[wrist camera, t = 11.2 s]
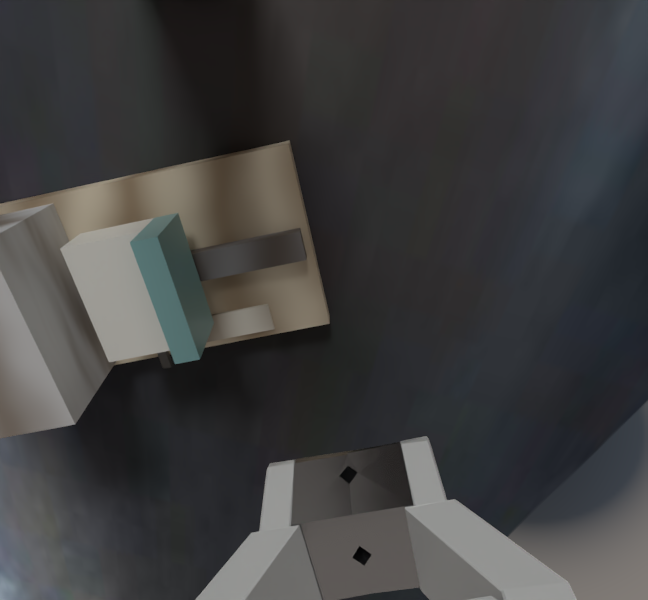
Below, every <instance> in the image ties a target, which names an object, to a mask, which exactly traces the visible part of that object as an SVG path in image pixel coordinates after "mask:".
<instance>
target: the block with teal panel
mask: <svg viewBox="0 0 648 600" xmlns="http://www.w3.org/2000/svg"><path fill="white" fill-rule="evenodd" d="M60 250H61V252H62V254H63V257H64V259H65V261H66V264H67V266H68V268H69V271H70V273H71V275H72V278H73V280H74V282H75V285H76V287H77V289H78V292H79V294H80V296H81V299H82V301H83V303H84V306H85V308H86V310H87V313H88V315H89V317H90V320H91V322H92V324H93V327H94V329H95V331H96V333H97V336H98V338H99V340H100V343H101V345H102V347H103V350H104V352H105V354H106V357H107V359H108V361H109V362H114V361H119V360H124V359H129V358H135V357H140V356H145V355H150V354H155V353H157V354H158V357H159V359H160V362H161V365H162V367H163V369H165V368H170V367H172V365H173V362H172V360H171V357H170V354H169V352H168V351H170V352H171V355H172V357H173V360H174V363H175V364H179V363H184V362H189V361H195V360H200V358H201V356H202V353H203V351H204V348H205V345H206V343H207V340H208V337H209V335H210V332H211V330H212V327H213V324H214V321H213V318H212V315H211V312H210V309H209V306H208V303H207V300H206V297H205V293H204V290H203V287H202V284H201V281H200V278H199V275H198V272H197V269H196V266H195V263H194V260H193V257H192V254H191V251H190V248H189V245H188V241H187V238H186V235H185V232H184V229H183V226H182V223H181V220H180V217H179V214H178V213H175V214H170V215H165V216H161V217H156V218H151V219H147V220H142V221H137V222H132V223H128V224H123V225H118V226H114V227H109V228H104V229H99V230H95V231H90V232H85V233H81V234H79V235H78V236H76V237H75V238H74V239H72V240H71V241H70V242H68V243H67V244H66V245H64V246H63V247H62V248H60Z"/></svg>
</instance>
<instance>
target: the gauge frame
mask: <svg viewBox="0 0 648 600" xmlns="http://www.w3.org/2000/svg"><path fill="white" fill-rule="evenodd" d="M175 213H178V214H179V217H180V220H181V223H182V226H183V229H184V232H185V235H186V238H187V241H188V245H189V248H190V251H191V254H192V257H193V260H194V263H195V266H196V269H197V272H198V275H199V278H200V281H201V284H202V287H203V290H204V293H205V297H206V300H207V303H208V306H209V309H210V312H211V315H212V318H213V321H214V324H213V327H212V330H211V332H210V335H209V337H208V340H207V343H206V345H205V348H206V347H211V346H216V345H221V344H226V343H232V342H237V341H242V340H247V339H252V338H258V337H263V336H268V335H273V334H278V333H284V332H289V331H294V330H299V329H304V328H309V327H315V326H320V325H325V324H330V317H329V311H328V306H327V302H326V298H325V293H324V289H323V284H322V280H321V276H320V271H319V267H318V262H317V258H316V254H315V249H314V245H313V241H312V236H311V232H310V227H309V223H308V219H307V214H306V210H305V205H304V201H303V197H302V192H301V188H300V184H299V179H298V175H297V170H296V166H295V162H294V157H293V153H292V148H291V144H290V140H289V141H285V142H280V143H276V144H271V145H267V146H262V147H258V148H253V149H248V150H244V151H239V152H235V153H230V154H226V155H221V156H216V157H212V158H207V159H203V160H198V161H194V162H189V163H184V164H180V165H175V166H171V167H166V168H162V169H157V170H152V171H148V172H143V173H139V174H134V175H130V176H125V177H120V178H116V179H111V180H107V181H102V182H98V183H93V184H88V185H84V186H79V187H75V188H70V189H66V190H61V191H56V192H52V193H47V194H43V195H38V196H34V197H29V198H24V199H20V200H15V201H11V202H6V203H2V204H0V438H5V437H10V436H15V435H21V434H26V433H32V432H37V431H42V430H48V429H53V428H59V427H64V426H69V425H75V424H76V422H77V421H78V419H79V418H80V416H81V415H82V413H83V412H84V410H85V409H86V407H87V406H88V404H89V403H90V401H91V400H92V398H93V396H94V395H95V393H96V392H97V390H98V389H99V387H100V386H101V384H102V383H103V381H104V380H105V378H106V377H107V375H108V373H109V372H110V370H111V369H112V367H113V366H114V365H118V364H123V363H128V362H133V361H138V360H143V359H149V358H154V357H158V354H157V353H155V354H150V355H145V356H140V357H135V358H129V359H124V360H119V361H114V362H109V361H108V359H107V357H106V354H105V352H104V350H103V347H102V345H101V343H100V340H99V338H98V336H97V333H96V331H95V329H94V327H93V324H92V322H91V320H90V317H89V315H88V313H87V310H86V308H85V306H84V303H83V301H82V299H81V296H80V294H79V292H78V289H77V287H76V285H75V282H74V280H73V278H72V275H71V273H70V271H69V268H68V266H67V264H66V261H65V259H64V257H63V254H62V252H61V250H60V248H62V247H63V246H64V245H66V244H67V243H68V242H70V241H71V240H72V239H74V238H75V237H76V236H78V235H79V234H81V233H85V232H90V231H95V230H99V229H104V228H109V227H114V226H118V225H123V224H128V223H132V222H137V221H142V220H147V219H151V218H156V217H161V216H165V215H170V214H175ZM168 352H169V354H171V352H170V351H168Z"/></svg>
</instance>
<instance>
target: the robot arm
mask: <svg viewBox="0 0 648 600" xmlns="http://www.w3.org/2000/svg"><path fill="white" fill-rule="evenodd" d="M419 587H420V589H421V591H422V592H423V593H424V594H425V595H426V596H427V598H428V599H429V600H577V599H576V597H575V595H574V592H573V590H572V588H571V586H570V584H569V582H568V581H566V580H565V579H563V578H562V577H561V576H559V575H558V574H557V573H555V572H554V571H553V570H551V569H550V568H549V567H547V566H546V565H544V564H543V563H542V562H540V561H539V560H537V559H536V558H535V557H534V556H532V555H531V554H529V553H528V552H527V551H525V550H524V549H522V548H521V547H520V546H518V545H517V544H516V543H514V542H513V541H512V540H510V539H509V538H508V537H506V536H505V535H503V534H502V533H501V532H499V531H498V530H497V529H495V528H494V527H493V526H491V525H490V524H488V523H487V522H486V521H484V520H483V519H482V518H480V517H479V516H478V515H476V514H475V513H473V512H472V511H471V510H469V509H468V508H467V507H465V506H464V505H463V504H461V503H460V502H458V501H457V500H456V499H454V500H447V499H446V495H445V492H444V488H443V485H442V482H441V478H440V475H439V472H438V468H437V465H436V461H435V458H434V455H433V451H432V448H431V445H430V441H429V439H428V438H427V437H426V436H424V437H419V438H414V439H409V440H404V441H400V442H398V443H392V444H387V445H381V446H375V447H370V448H364V449H359V450H353V451H346V452H340V453H333V454H326V455H320V456H313V457H306V458H300V459H296V460H289V461H283V462H276V463H270V464H269V466H268V468H267V472H266V480H265V488H264V496H263V504H262V512H261V521H260V529H259V532H254V533H251V534H250V535H249V536H248V537H247V539H246V540H245V541H244V542H243V543H242V545H241V546H240V547H239V548H238V549H237V551H236V552H235V553H234V554H233V555H232V557H231V558H230V559H229V560H228V561H227V563H226V564H225V565H224V566H223V567H222V569H221V570H220V571H219V572H218V573H217V574H216V576H215V577H214V578H213V579H212V580H211V582H210V583H209V584H208V585H207V586H206V588H205V589H204V590H203V591H202V592H201V594H200V595H199V596H198V597H197V598H196V600H338V599H344V598H349V597H354V596H360V595H365V594H371V593H379V592H387V591H395V590H403V589H411V588H419Z"/></svg>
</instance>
